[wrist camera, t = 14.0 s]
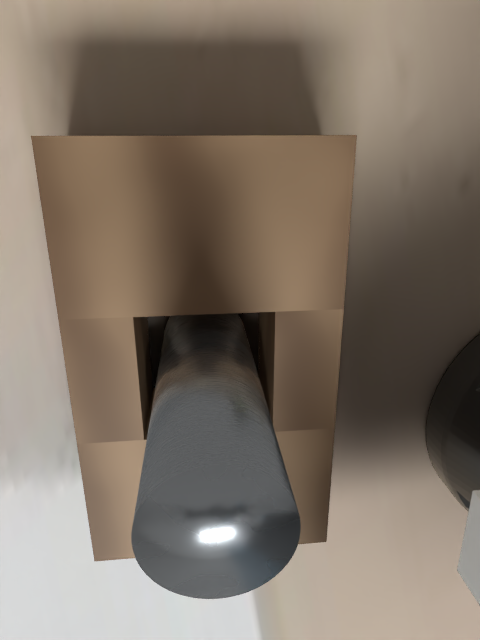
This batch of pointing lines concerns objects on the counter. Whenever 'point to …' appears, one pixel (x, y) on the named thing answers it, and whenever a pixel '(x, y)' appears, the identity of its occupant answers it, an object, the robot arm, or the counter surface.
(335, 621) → the counter surface
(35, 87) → the counter surface
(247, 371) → the peg
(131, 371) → the socket block
